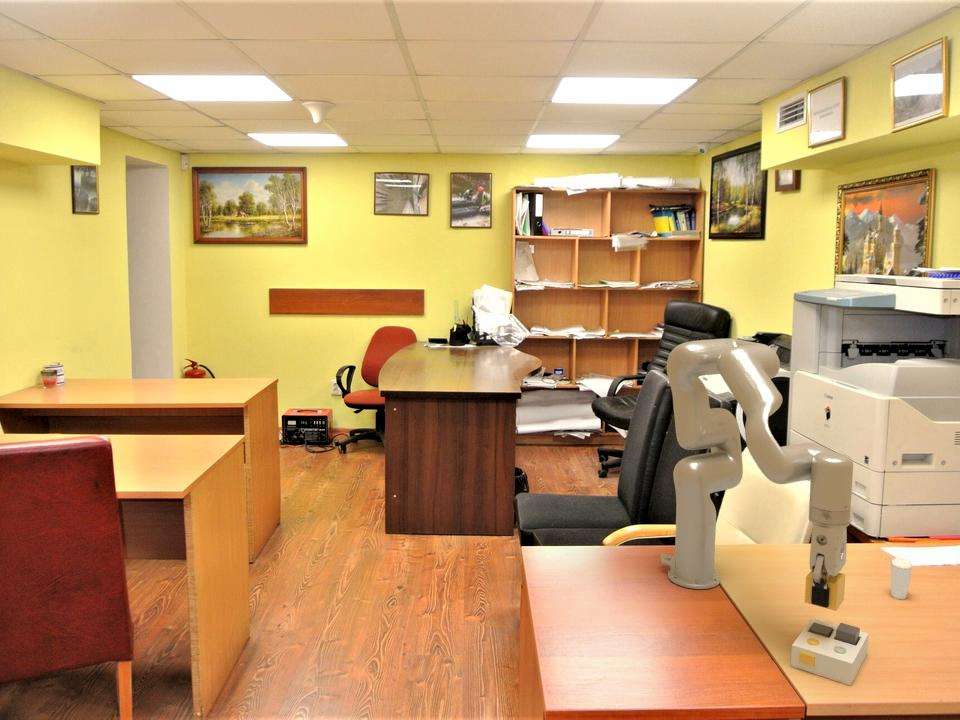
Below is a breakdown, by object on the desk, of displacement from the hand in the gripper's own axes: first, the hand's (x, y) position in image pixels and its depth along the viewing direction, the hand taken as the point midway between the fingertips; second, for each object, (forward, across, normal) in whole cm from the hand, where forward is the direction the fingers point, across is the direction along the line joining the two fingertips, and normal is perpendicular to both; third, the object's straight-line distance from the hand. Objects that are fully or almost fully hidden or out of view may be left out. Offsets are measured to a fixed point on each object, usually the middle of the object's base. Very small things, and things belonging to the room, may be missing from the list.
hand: (824, 598), depth 155 cm
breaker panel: (+12, -2, -2) cm, 12 cm away
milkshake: (+12, +37, -8) cm, 39 cm away
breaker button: (+9, 0, -5) cm, 10 cm away
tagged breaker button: (+11, 0, 0) cm, 11 cm away
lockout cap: (+1, 0, 0) cm, 1 cm away
